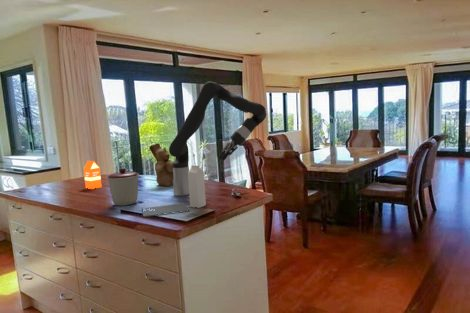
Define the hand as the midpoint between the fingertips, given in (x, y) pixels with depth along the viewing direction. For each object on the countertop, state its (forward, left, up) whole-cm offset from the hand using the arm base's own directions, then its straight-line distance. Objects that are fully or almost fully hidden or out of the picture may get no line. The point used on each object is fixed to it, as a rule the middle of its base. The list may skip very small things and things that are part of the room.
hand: (220, 159), depth 190 cm
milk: (-11, -8, -24) cm, 28 cm away
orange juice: (-115, +30, -24) cm, 122 cm away
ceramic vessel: (-64, +46, -24) cm, 83 cm away
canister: (-57, -9, -24) cm, 63 cm away
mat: (-25, -19, -24) cm, 40 cm away
